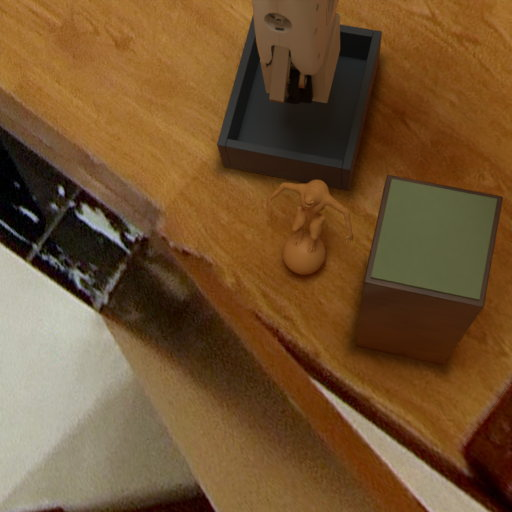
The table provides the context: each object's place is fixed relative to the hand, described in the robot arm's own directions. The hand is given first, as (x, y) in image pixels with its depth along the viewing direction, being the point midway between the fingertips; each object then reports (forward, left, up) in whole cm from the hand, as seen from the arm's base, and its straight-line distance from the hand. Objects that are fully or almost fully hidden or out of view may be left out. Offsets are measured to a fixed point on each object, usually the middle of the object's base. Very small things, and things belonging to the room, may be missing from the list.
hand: (302, 65), depth 76 cm
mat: (-14, +18, +12) cm, 25 cm away
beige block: (0, 0, -1) cm, 1 cm away
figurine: (-3, +14, -10) cm, 17 cm away
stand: (-14, +18, -10) cm, 24 cm away
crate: (0, 0, -10) cm, 10 cm away
